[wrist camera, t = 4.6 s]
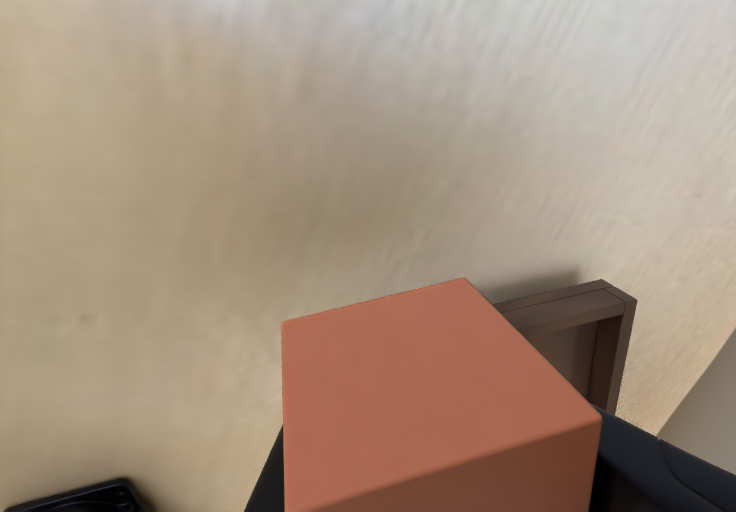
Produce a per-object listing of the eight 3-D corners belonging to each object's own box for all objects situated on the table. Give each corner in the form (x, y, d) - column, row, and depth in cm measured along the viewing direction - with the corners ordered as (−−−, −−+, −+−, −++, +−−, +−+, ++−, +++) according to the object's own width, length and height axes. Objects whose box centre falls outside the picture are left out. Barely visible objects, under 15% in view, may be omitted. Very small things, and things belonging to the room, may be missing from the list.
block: (319, 455, 11) (345, 675, 7) (280, 320, 9) (283, 516, 5) (471, 410, 11) (578, 589, 7) (464, 275, 9) (605, 416, 5)
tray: (388, 541, 29) (448, 783, 19) (350, 321, 21) (420, 543, 11) (556, 488, 31) (691, 682, 21) (584, 267, 23) (830, 413, 13)
